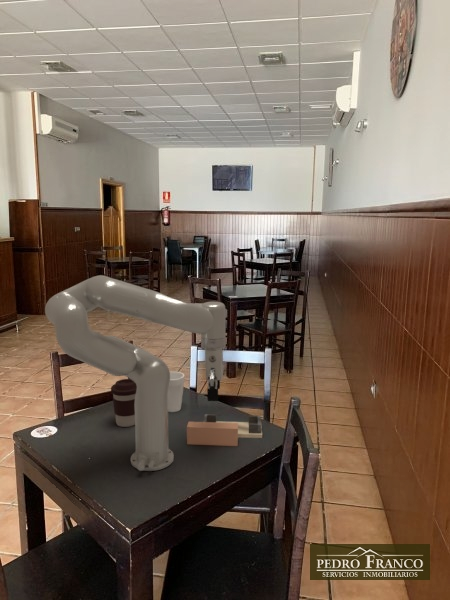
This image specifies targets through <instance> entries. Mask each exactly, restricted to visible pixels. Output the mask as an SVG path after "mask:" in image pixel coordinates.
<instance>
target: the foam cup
mask: <svg viewBox="0 0 450 600" xmlns="http://www.w3.org/2000/svg"><path fill="white" fill-rule="evenodd" d="M185 381H186V379H185V373H183V372H180V371H170V383H169V389H168V413H176V412H179V411H180V410H181V408H182V402H183V393H184V387H185Z"/></svg>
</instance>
